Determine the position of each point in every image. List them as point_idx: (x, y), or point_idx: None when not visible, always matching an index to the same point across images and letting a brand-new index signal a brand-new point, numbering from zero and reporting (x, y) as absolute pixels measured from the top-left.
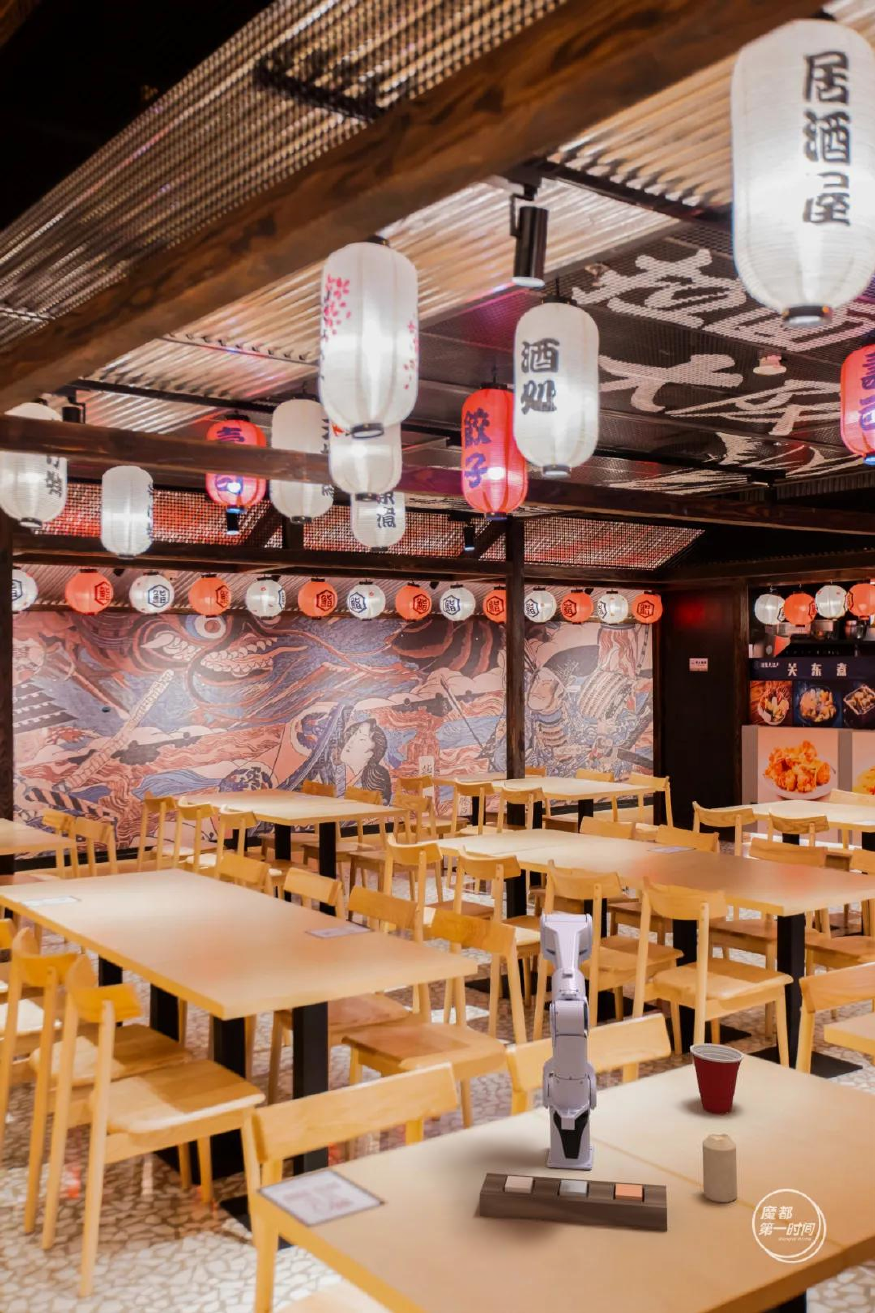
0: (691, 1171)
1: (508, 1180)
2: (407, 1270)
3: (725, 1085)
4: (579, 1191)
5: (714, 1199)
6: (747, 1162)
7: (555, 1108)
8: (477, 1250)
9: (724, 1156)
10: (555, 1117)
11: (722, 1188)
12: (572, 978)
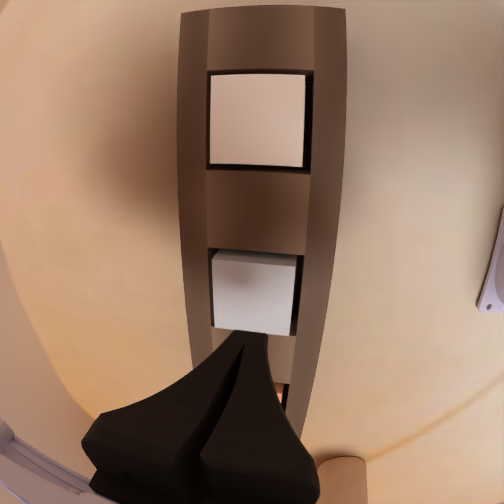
0: (427, 443)
1: (264, 80)
2: (22, 10)
3: None
4: (218, 313)
5: (322, 464)
6: (431, 478)
7: (48, 494)
8: (65, 78)
9: None
10: (93, 448)
11: None
12: None
